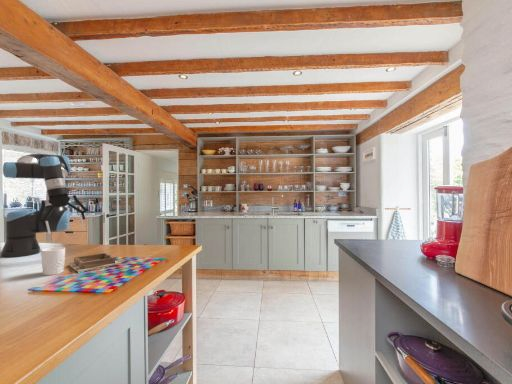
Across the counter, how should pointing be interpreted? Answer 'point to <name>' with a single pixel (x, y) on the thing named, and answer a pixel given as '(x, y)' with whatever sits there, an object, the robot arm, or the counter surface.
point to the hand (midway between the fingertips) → (67, 230)
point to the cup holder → (93, 262)
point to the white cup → (53, 260)
